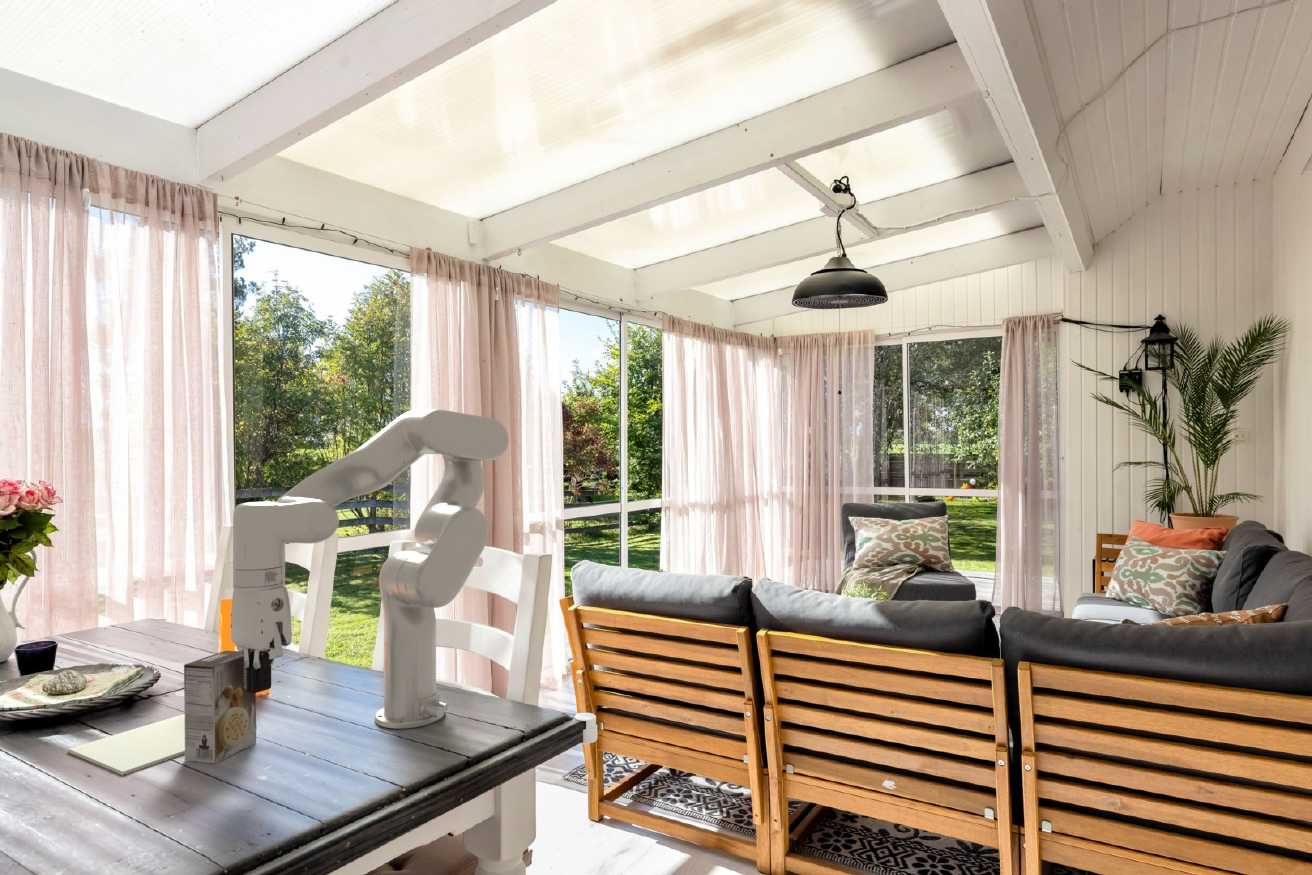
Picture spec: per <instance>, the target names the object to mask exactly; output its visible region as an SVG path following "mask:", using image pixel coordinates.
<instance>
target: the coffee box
mask: <svg viewBox="0 0 1312 875" xmlns="http://www.w3.org/2000/svg"><path fill="white" fill-rule="evenodd" d="M247 668H248V667H246V666H245V662H244V655H243V653H241V652H240V651H228V650H226V651H223V652H220V653H218V652H217V653H214V654H211V655H208V656H206V657H203V658H200V659H197V660H194V661H192V662H189V663H188V662H187V663H185V664H183V688H184V692H183V693H184V696H183V697H184V707H183V708H184V714H185V754H184V761H186V762H193V761H198V762H197V763H203V762H204V763H205V764H211V763H213V764H212V765H216V764H218V763H220V762H222V761H223V760H225V758H226V759H227V757H228V758H229V757H231V756H233V755H235V754H237V753H239V752H240V750H241V751H243V750H244V748H245V749H247V748H248V747H251V746H252V745H254V744H256V743H257V729H256V726H257V696H256V693H251V692H247ZM251 744H252V745H251ZM242 749H243V750H242Z"/></svg>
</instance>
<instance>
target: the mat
mask: <svg viewBox="0 0 1312 875" xmlns="http://www.w3.org/2000/svg"><path fill="white" fill-rule="evenodd" d="M257 728H258V726H257V725H256V730H257ZM67 750H68V752H67V753H69V754H71V755H73V756H75V757H79V758H81V759H83V760H86V761H87V762H90V763H93V764H95V765H97V766H99V765H100V766H99V767H103V768H105V770H110V771H111V770H112V772H114V773H117V774H118V775H121V776H125V775H124V774H126V775H129V774H131V772H132V773H134V772H136V770H137V771H140V770H143V769H145V768H144V767H146V768H148V767H147V766H149V765H152V766H154V764H155V765H157V763H158V764H160V763H163V762H166V761H168V759H169V760H172V759H174V757H175V758H177V757H180V755H181V756H183V755H185V754H184V753H185V713H183V714H180V715H175V716H171V717H170V718H166V719H162V720H159V721H156V722H152V723H149V724H146V725H142V726H140V727H136V728H131V729H129V730H126V731H123V732H120V733H116V734H113V735H110V736H107V737H103V738H99V739H97V740H93V741H90V742H87V743H83V744H79V745H77V746H73V747H70V748H68V749H67ZM182 754H183V755H182ZM171 758H172V759H171ZM162 761H163V762H162ZM159 762H160V763H159ZM149 767H150V766H149ZM142 768H143V769H142ZM133 771H134V772H133Z"/></svg>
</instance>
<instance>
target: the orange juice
mask: <svg viewBox="0 0 1312 875" xmlns="http://www.w3.org/2000/svg"><path fill="white" fill-rule="evenodd" d="M231 605H232V598H226V599H225V598H224V599H220V605H219V619H218V620H219V621H218V652H217V653H220V652H223V651H226V650H228V651H238V650H237V648H236V645H235V644H234V643H233V642H232V641H231V632H230V621H231ZM262 693H269V694H270V689H268V690H265V691H261V692H258V693H256V695H257V694H262ZM257 696H258V695H257Z"/></svg>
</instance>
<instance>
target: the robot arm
mask: <svg viewBox="0 0 1312 875" xmlns="http://www.w3.org/2000/svg"><path fill="white" fill-rule="evenodd" d="M508 446H509V434H508V430H507V428H506V427H505V425H504V424H503V423H502V422H501V421H499V420H498V419H495V418H494V417H493V418H492V417H488V416H483V415H482V416H481V415H475V414H470V413H469V414H468V413H463V412H457V411H453V410H447V409H440V408H439V409H437V408H433V409H432V408H430V409H415V410H414V409H413V410H409V411H407V412H404V413H403V414H400V416H397V417H396V418H395V419H394V420H393V421H391V422H390V423H388V424H387V425H386V426H385V427H384V428H382V429H380V431H378V432H377V433H376V434H374V435H373V436H371V438H369V439H368V440H367V441H365V442H364V443H363V444H361V445H360V446H358V447H357V448H356V449H355V450H353V451H352V452H349V453H348V454H346V455H344V456H342V457H340V458H339V459H336V460H334V462H332V463H330V464H328V465H326V466H324V467H322V468H321V469H319V470H317V471H315V472H314V473H312V474H310V475H309V476H307V477H306V478H304V479H302V480H301V481H300V482H299V483H297V484H295V486H293V487H291V489H290V490H288V491H287V492H286V493H284V494H282V496H280V497H279V498H278V499H277V500H276V501H249V502H244V503H243V502H242V503H240V504H237V505H236V507H234V510H233V514H232V537H233V538H232V589H233V591H232V592H233V593H232V597H231V599H232V605H231V621H230V632H231V641H232V642H233V643H234V644H235V645H236V648H237V650H238V651H240V652H241V653H243V655H244V662H245V666H246V667H248V668H247V692H251V693H258V692H261V691H265V690H268V689H269V690H270V689H272V665H274V662H275V659H277V658H281V657H283V656H284V653H283V647H287V646H290V645H291V643H292V639H293V638H292V636H293V635H292V634H293V633H292V631H293V630H292V629H293V628H292V614H291V613H292V612H291V602H290V597H289V592H288V587H287V586H286V544H308V545H309V544H310V545H311V544H313V545H314V544H318V543H322V542H324V541H326V540H328V539H330V538H331V537H332V536H333V535H334V534H335V533H336V532H337V530H338V527H339V525H340V518H339V517H340V516H339V513H338V512H337V510H336V508H335V507H337V506H338V505H340V504H341V503H344V502H346V501H348V500H351V499H352V498H357V497H359V496H363V495H367V494H368V495H369V494H372V493H373V492H376V491H379V490H382V489H383V488H385V487H387V486H388V485H389V484H390V483H392V482H393V481H394V480H395V479H397V478H398V476H400V475H401V474H402V473H403V472H404V471H406V470H407V469H408V468H409V467H411V466H412V465H413V464H414V463H415V462H417V461H418V460H419V459H420V458H421V457H423V456H425V455H427V454H428V455H442V459H443V463H444V470H443V471H444V472H443V475H442V478H441V481H440V483H439V485H438V487H437V488H436V490H435V492H434V493H433V495H432V497H431V498H430V500H429V502H428V503H427V505H426V507H425V508H424V510H423V511H422V512H421V514H420V516H419V518H418V519H417V522H416V524H415V526H414V538H415V540H416V542H417V543H418V544H419V545H420V546H421V547H422V548H424V549H427V550H430V552H429V553H427V552H424V551H416V550H403V551H399V552H395V553H393V554H391V555H390V556H389V557H388V558H387V559H386V560H385V561H384V563H383V564H382V566H381V568H380V571H379V575H378V584H379V586H378V587H379V592H380V598H381V603H382V611H383V707H381V708H380V709H379V710H377V711H376V713H375V714H374V715H375V716H374V720H375V723H376V724H377V725H379V726H381V727H383V728H387V729H396V730H398V729H399V730H401V729H403V730H405V729H414V728H418V727H419V728H420V727H423V726H427V725H429V724H433V723H434V722H437V721H439V720H441V719H442V718H443V717H444V715H445V712H447V711H448V709H449V704H448V703H446V702H441V697H440V696H441V694H440V692H437V618H436V616H437V615H436V611H435V609H438V608H442V607H445V606H447V605H448V604H450V603H451V602H452V601H454V600H455V598H456V597H457V596H458V595H459V593H460V592H461V590H462V588H463V587H464V585H465V583H466V582H467V580H468V578H469V576H470V575H471V572H472V571H473V569H474V567H475V566H476V564H477V562H478V560H479V558H480V557H481V555H482V553H483V551H484V550H485V547H486V545H487V541H488V536H489V523H488V520H487V518H486V517H485V514H484V513H483V512H482V511H481V510H479V509H478V508H476V507H477V505H478V504H479V501H480V500H481V497H482V495H483V493H484V488H485V475H484V470H483V466H482V463H481V462H482V461H483V462H489V461H494V460H497V459H499V458H501V456H503V454H505V452H506V451H507V449H508Z"/></svg>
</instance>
